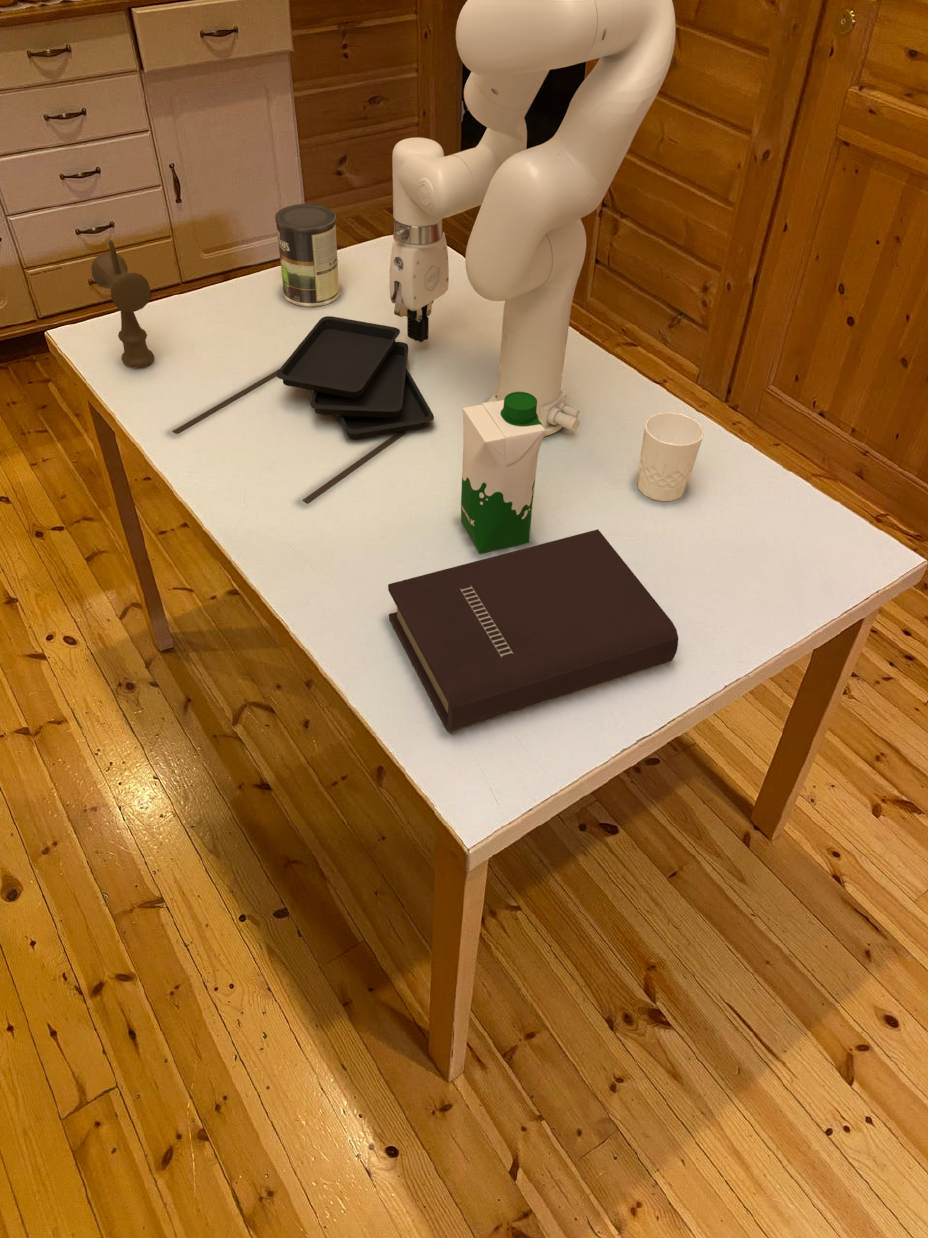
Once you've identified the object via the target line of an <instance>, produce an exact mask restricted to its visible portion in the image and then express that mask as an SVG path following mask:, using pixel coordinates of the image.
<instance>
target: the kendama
mask: <svg viewBox="0 0 928 1238" xmlns="http://www.w3.org/2000/svg"><path fill="white" fill-rule="evenodd" d="M108 249H109V252H104V253H102V254H99V255H97V256H96V257H95V258H94V259H93V260H92V263H91V268H90V269H91V276H92V278H93V281H94V282H95V283H96V284H97V286H99V287H101V288H104V289H110V298H111V300H112V303H113V305H114V306H115V307H116V308H117V309H118V310H119V311H120V323H121V324H120V325H121V326H120V330H119V332H118V335H117V337H118V339H119V341H121V343H122V346H123V352H122V354H121V357H120V358H121V359H120V360H121V361H122V363H123V364H124V365H126V366H127V367H130V368H141V367H145V366H148V365H150V364H151V363H152V362H153V361H154V360H155V355H154V353H153V351H151V350H150V349H149V348H148V345H147V337H148V334H147V332H146V330H144V329H143V328H142V327H141V326H140V324H139V321H138V319H137V317H136V314H135V312H137V311H140V310H143V309H144V308H145V307H146V306H147V305H148V304H149V302H150V298H151V286H150V284H149V282H148V279H146V277H144V275H143V274H141V273H137V272H129V271H128V270H129V269H128V265H127V263H126V261H125V259H124V258H123V256H122V255H120V254H119V253H117V250H116V246H115V244H114V242H113V240H112V239H109V240H108Z"/></svg>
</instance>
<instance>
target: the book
mask: <svg viewBox="0 0 928 1238" xmlns="http://www.w3.org/2000/svg"><path fill="white" fill-rule="evenodd" d="M387 591H388V592H389V595H390V597H391V598H392V600H393V602H394V604H395V606H396V611H395V612H390V613H388V621H389V622H390V624H391V627H392V628H393V630H394V631H395V634H396V637H397V638H398V640H399V642H400V644H401V646H402V647H403V649H404V652H405V653H406V655H407V658H408V659H409V661H410V663H411V665H412V667H413V669H414V671H415V673H416V675H417V676H418V678H419V681H420V683H421V685H422V686H423V688H424V690H425V692H426V694H427V696H428V698H429V700H430V703H431V704H432V706H433V707H434V710H435V712H436V713H437V716H438V717H439V719H440V722H441V724H442V725H443V727H444V728H445V730H446V732H453V731H456V730H460V729H463V728H465V727H470V726H472V725H475V724H478V723H482V722H485V721H489V720H491V719H494V718H497V717H500V716H504V715H507V714H511V713H514V712H516V711H519V710H522V709H525V708H528V707H531V706H536V705H538V704H541V703H545V702H547V701H551V700H554V699H556V698H560V697H564V696H567V695H569V694H572V693H577V692H578V691H582V690H586V689H588V688H591V687H595V686H598V685H601V684H604V683H608V682H611V681H613V680H617V679H619V678H622V677H626V676H629V675H632V674H635V673H638V672H641V671H644V670H648V669H651V668H654V667H657V666H660V665H664V664H667V663H670V662H673V660H674V658H675V657H676V654H677V652H678V646H679V635H678V630H677V627H676V626H675V624H674V622H673V620H672V619H670V617H669V615H667V613H666V612H665V611H664V610H663V608H662V607H661V606H660V605H659V604H658V602H657V601H656V599H655V598H654V597H653V596H652V594H651V593H650V592H649V591H648V590H647V588H646V587H645V585H643V583H642V582H641V581H640V580H639V578H638V577H637V576H636V575H635V573H634V571H632V569H631V568H630V567H629V566H628V565H627V563H626V562H625V560H624V559H623V558H622V556H620V554H619V553H618V552H617V551H616V550H615V548H614V547H613V546H612V544H611V543H610V542H609V541H608V539H607V538H606V537H605V535H604V534H603V533H602V532H601V531H600V530H599V529H594V530H590V531H586V532H583V533H579V534H574V535H570V536H567V537H563V538H558V539H556V540H551V541H547V542H544V543H541V544H537V545H533V546H530V547H528V546H527V547H525V548H521V549H517V550H514V551H509V552H505V553H502V554H498V555H495V556H490V557H487V558H483V559H479V560H474V561H472V562H468V563H464V564H460V565H455V566H453V567H449V568H444V569H441V570H437V571H433V572H430V573H426V574H422V575H418V576H414V577H410V578H406V579H403V580H399V581H395V582H391V583H388V584H387Z"/></svg>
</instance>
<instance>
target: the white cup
mask: <svg viewBox="0 0 928 1238" xmlns="http://www.w3.org/2000/svg"><path fill="white" fill-rule="evenodd" d="M704 434H705V431H704V428H703V426H702V424H700V422H699V421H698V420H697V419H695V418H693V417H691V416H689V415H687V414H684V413H679V412H672V411H670V412H669V411H665V412H659V413H655V414H653V415H651V416H649V417H648V418H647V419H646V421H645V424H644V429H643V436H642V443H641V448H640V449H641V450H640V456H639V465H638V475H637V489H638V490H639V491H640V492H641V494H642V495H643V496H644V497H647V498H649V499H651V500H654V501H658V502H673V501H676V500H678V499H680V498H682V496H683V495H684V493H685V491H686V488H687V485H688V482H689V479H690V477H691V474H692V472H693V469H694V465H695V464H696V460H697V458H698V457H697V456H698V453H699V450H700V447H701V444H702V442H703V438H704Z"/></svg>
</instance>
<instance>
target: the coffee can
mask: <svg viewBox="0 0 928 1238" xmlns="http://www.w3.org/2000/svg"><path fill="white" fill-rule="evenodd" d="M274 220H275V224H276V232H277V233H276V234H277V241H278V252H279V260H280V261H279V262H280V270H281V281H282V290H283V292H282V294H283V298H284V299H285V300H286V301H287V302H288V303H290V304H293V305H294V306H300V307H305V308H307V307H308V308H315V307H316V308H317V307H322V306H326V305H330V304H331V303H334V302H335V301H336V300H338V298H339V297H340V294H341V291H340V290H341V289H340V279H339V264H338V262H339V261H338V244H337V226H336V222H337V215H336V212H334V210H333V209H331V208H328V207H326V206H324V205H319V204H313V203H299V204H293V205H288V206H286V207H283V208H281V209H279V210H278V211H276V213H275V215H274Z"/></svg>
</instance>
